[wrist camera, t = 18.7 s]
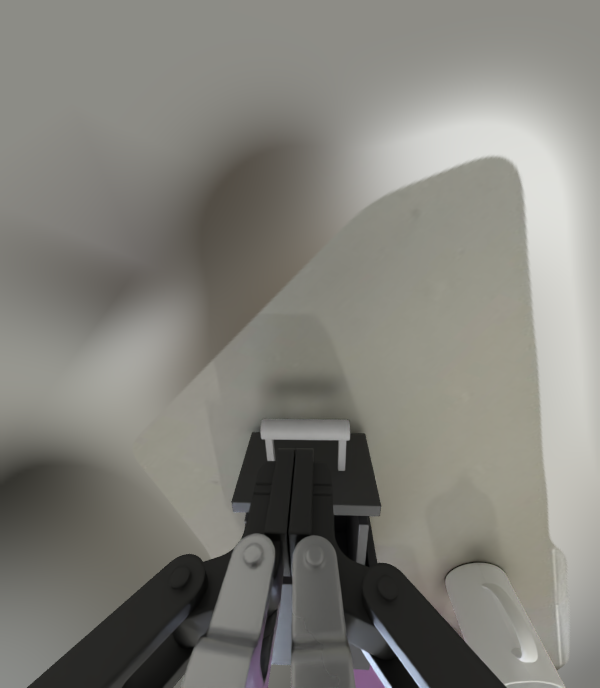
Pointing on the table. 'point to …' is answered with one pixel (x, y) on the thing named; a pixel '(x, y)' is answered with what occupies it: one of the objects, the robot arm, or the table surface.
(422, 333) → the table surface
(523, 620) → the mug
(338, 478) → the drawer
